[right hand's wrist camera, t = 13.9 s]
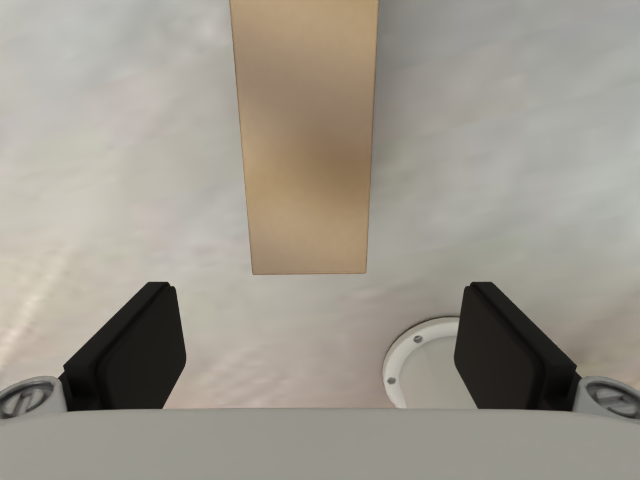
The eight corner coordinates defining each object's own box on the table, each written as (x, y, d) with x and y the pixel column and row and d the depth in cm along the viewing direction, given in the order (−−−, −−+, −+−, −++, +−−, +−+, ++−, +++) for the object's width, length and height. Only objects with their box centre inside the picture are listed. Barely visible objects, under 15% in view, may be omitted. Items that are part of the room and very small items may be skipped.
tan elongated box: (258, -67, 23) (211, -210, 13) (355, -67, 23) (388, -209, 13) (274, 216, 30) (252, 275, 20) (348, 215, 30) (366, 274, 20)
